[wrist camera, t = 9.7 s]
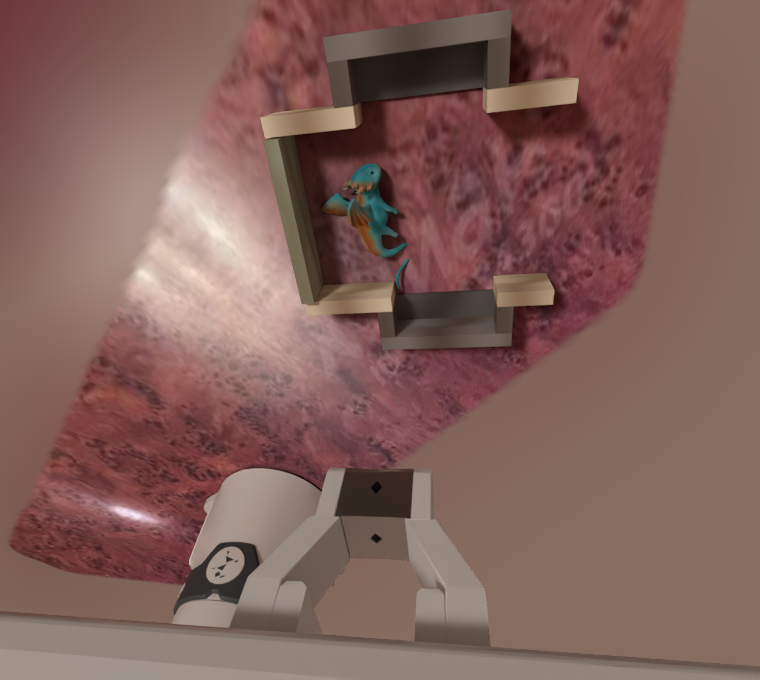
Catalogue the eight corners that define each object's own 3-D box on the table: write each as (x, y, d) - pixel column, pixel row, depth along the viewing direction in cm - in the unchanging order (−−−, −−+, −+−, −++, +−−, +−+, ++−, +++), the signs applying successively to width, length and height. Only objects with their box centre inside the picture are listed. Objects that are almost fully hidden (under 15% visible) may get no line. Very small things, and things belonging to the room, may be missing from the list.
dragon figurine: (467, 213, 31) (381, 156, 27) (419, 303, 33) (330, 262, 28) (421, 201, 37) (343, 151, 32) (382, 278, 38) (302, 241, 34)
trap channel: (572, 3, 25) (590, -4, 22) (540, 325, 36) (549, 348, 33) (261, 50, 28) (240, 49, 25) (323, 333, 39) (313, 355, 36)
